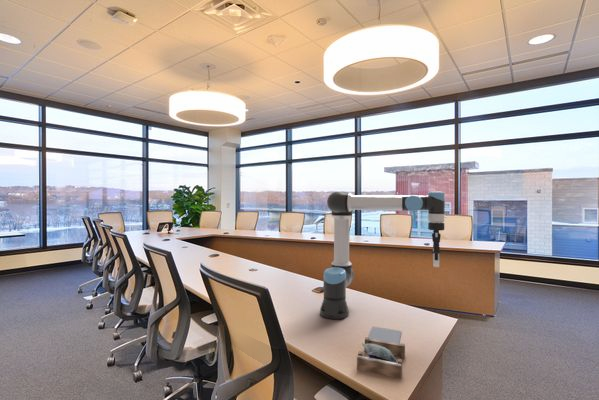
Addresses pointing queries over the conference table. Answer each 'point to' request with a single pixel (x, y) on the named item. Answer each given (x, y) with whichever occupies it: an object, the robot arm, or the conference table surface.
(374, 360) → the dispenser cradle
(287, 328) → the conference table surface
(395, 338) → the slate mat
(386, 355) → the packaged food
